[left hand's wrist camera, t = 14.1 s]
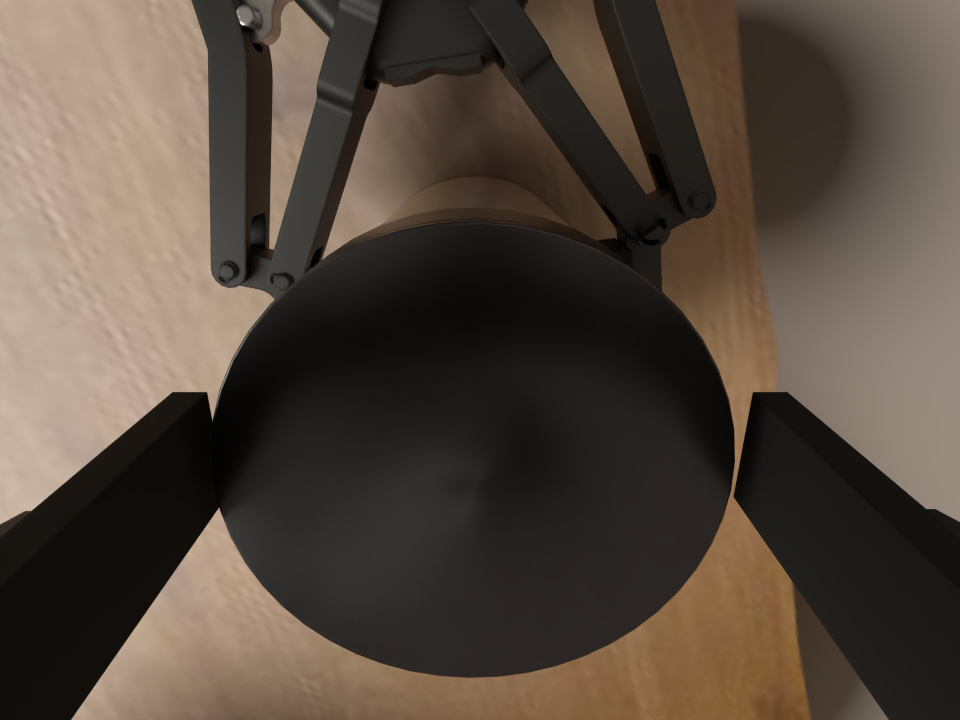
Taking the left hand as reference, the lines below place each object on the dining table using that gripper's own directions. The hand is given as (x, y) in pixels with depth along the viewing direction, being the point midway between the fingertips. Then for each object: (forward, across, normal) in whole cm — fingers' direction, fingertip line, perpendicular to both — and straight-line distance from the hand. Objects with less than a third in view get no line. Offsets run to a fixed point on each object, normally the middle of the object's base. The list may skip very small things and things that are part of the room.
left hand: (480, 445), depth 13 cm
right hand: (+10, 0, -4) cm, 11 cm away
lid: (-1, 0, 0) cm, 1 cm away
